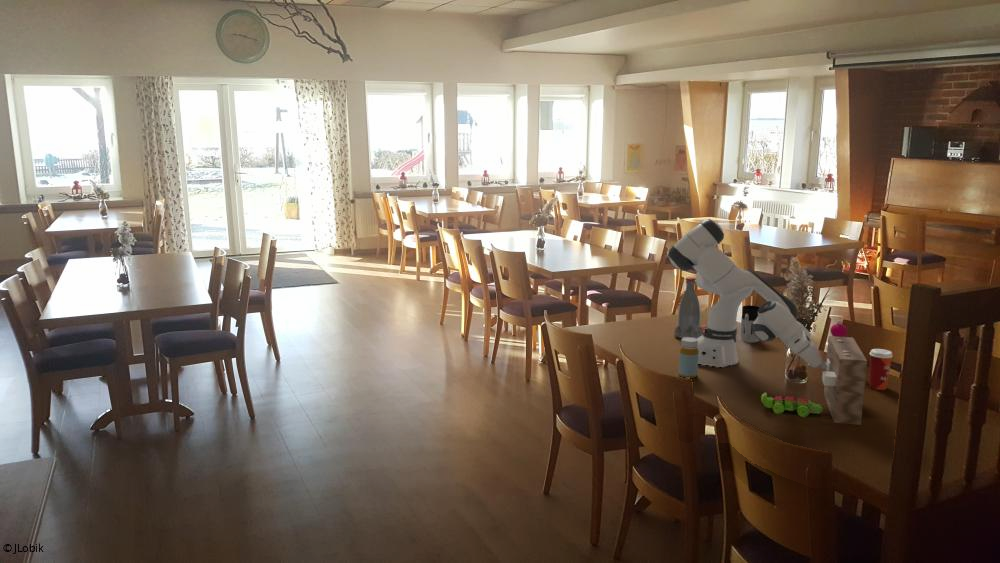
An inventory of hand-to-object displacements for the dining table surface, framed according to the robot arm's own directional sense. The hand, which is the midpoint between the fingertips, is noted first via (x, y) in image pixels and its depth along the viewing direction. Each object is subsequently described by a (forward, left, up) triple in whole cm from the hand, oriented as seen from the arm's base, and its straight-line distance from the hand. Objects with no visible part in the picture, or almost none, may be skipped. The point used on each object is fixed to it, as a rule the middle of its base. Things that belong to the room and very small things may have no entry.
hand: (825, 367), depth 256 cm
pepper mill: (+9, +36, -13) cm, 39 cm away
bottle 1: (-49, +67, -13) cm, 84 cm away
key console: (+5, -7, -12) cm, 15 cm away
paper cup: (+21, +18, -13) cm, 31 cm away
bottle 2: (-47, +14, -13) cm, 51 cm away
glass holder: (-23, +67, -13) cm, 72 cm away
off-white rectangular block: (+1, -14, -1) cm, 14 cm away
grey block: (+4, 0, -1) cm, 4 cm away
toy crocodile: (-12, -14, -13) cm, 22 cm away
